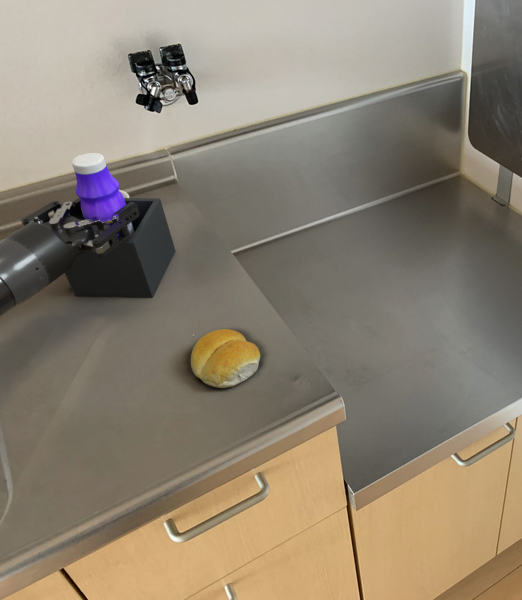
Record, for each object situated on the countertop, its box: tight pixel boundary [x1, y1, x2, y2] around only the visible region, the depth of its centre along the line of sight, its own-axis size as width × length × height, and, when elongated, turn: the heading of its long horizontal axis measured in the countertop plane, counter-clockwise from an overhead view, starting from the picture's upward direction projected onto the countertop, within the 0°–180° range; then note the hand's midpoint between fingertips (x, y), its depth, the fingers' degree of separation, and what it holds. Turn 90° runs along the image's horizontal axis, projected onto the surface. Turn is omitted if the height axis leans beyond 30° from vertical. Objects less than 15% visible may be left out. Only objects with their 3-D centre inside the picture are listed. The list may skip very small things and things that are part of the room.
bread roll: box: [190, 328, 261, 389], centre depth 79 cm, size 8×9×4 cm
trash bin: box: [64, 197, 176, 298], centre depth 92 cm, size 12×12×10 cm
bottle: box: [71, 152, 135, 240], centre depth 88 cm, size 7×6×17 cm
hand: (115, 202), depth 89 cm, fingers closed on bottle, 7 cm apart
